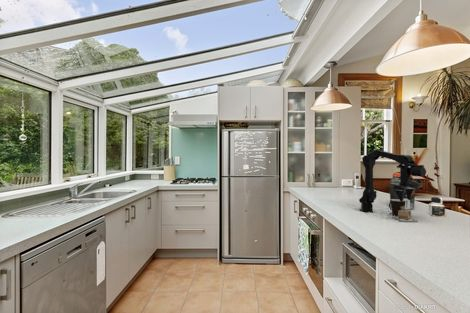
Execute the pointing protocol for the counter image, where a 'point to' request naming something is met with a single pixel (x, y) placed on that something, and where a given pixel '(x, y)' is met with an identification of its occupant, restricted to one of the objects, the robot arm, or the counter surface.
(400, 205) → the coffee mug
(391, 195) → the supplement tub
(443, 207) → the medicine bottle
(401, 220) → the pad
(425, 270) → the counter surface
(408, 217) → the letter block
